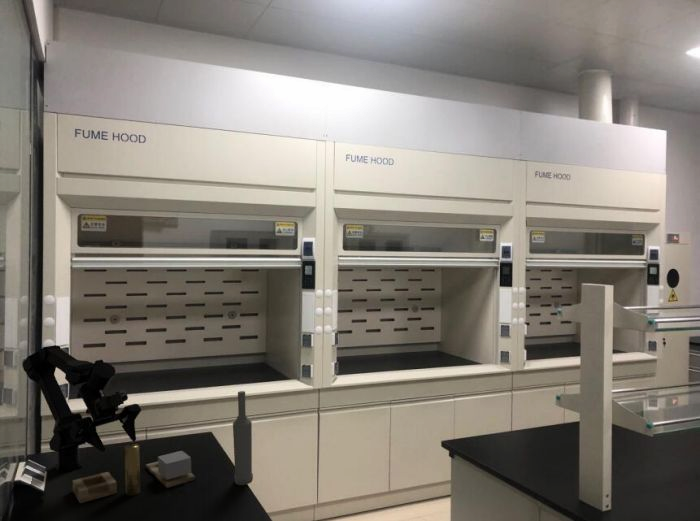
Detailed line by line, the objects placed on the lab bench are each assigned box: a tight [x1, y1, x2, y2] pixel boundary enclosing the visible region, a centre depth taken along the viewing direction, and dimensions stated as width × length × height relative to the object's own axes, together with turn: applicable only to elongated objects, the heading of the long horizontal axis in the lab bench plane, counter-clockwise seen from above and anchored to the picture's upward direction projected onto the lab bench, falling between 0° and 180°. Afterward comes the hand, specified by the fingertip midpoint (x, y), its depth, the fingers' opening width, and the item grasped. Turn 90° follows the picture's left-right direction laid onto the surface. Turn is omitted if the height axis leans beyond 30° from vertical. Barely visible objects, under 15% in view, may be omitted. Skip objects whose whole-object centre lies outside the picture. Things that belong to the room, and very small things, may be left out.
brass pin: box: [124, 443, 141, 497], centre depth 145 cm, size 4×4×12 cm
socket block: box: [72, 471, 118, 504], centre depth 145 cm, size 9×9×3 cm
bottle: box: [232, 390, 254, 486], centre depth 150 cm, size 5×5×25 cm
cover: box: [157, 450, 192, 480], centre depth 154 cm, size 7×7×4 cm
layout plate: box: [145, 461, 196, 489], centre depth 157 cm, size 18×8×1 cm, turn 38°
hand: (119, 445), depth 148 cm, fingers open, 9 cm apart
